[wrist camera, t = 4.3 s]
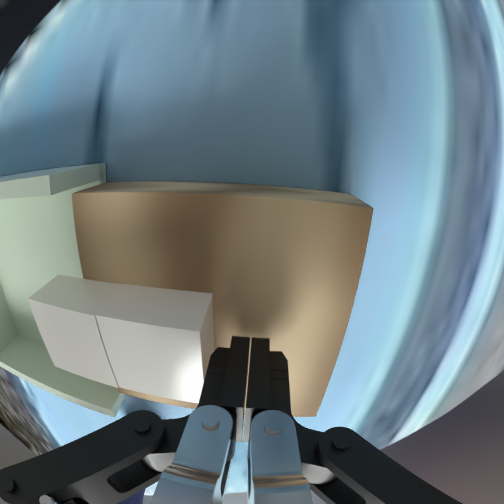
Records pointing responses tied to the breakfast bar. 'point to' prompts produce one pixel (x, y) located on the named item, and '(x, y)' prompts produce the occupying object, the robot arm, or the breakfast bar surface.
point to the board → (237, 262)
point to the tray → (42, 275)
